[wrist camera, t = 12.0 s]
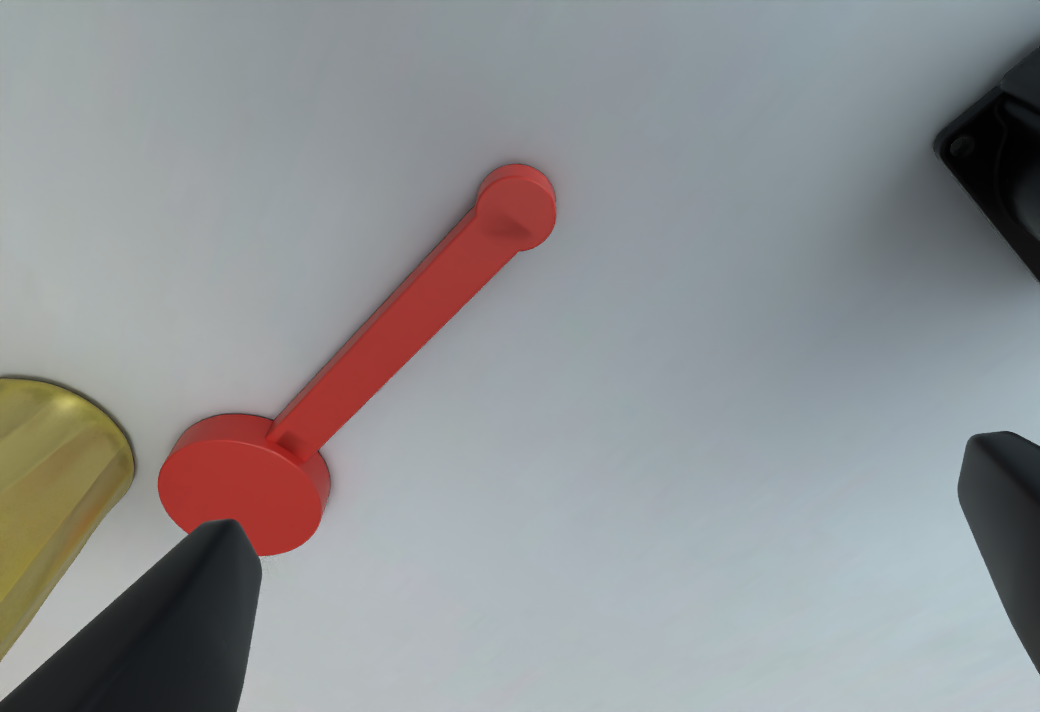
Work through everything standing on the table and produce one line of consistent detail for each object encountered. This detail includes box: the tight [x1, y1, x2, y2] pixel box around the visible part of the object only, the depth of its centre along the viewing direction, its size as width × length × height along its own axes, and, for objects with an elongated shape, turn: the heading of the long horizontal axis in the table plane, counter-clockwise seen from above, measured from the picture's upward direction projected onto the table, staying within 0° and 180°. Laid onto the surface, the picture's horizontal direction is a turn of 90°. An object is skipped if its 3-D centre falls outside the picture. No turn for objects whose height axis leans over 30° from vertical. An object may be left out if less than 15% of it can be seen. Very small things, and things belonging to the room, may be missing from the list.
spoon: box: [158, 164, 556, 556], centre depth 24 cm, size 6×18×1 cm, turn 138°
